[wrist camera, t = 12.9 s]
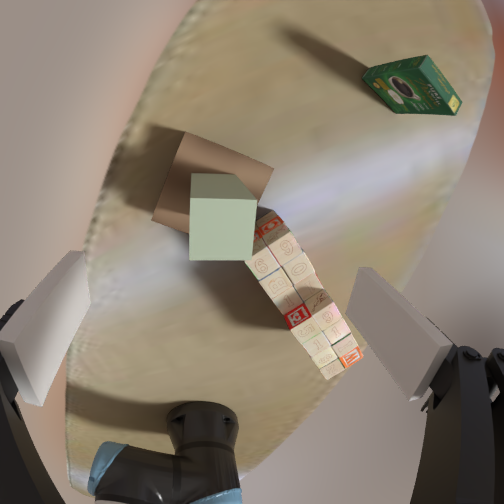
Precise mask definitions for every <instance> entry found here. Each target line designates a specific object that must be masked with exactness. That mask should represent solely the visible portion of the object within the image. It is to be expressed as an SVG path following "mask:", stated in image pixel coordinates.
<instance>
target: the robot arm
mask: <svg viewBox="0 0 504 504" xmlns="http://www.w3.org/2000/svg"><path fill="white" fill-rule="evenodd" d="M90 305H91V302H90V295H89V288H88V280H87V271H86V261H85V251H69V252H68V253H67V254H66V255H65V257H63V258H62V260H61V261H60V262H59V263H58V264H57V265H56V266H55V267H54V268H53V269H52V270H51V271H50V272H49V273H48V274H47V276H46V277H45V278H44V279H43V280H42V281H41V282H40V283H39V284H38V286H37V287H36V288H35V289H34V290H33V291H32V292H31V294H30V295H29V296H28V297H27V298H26V300H22V299H21V300H20V301H18V302H16V303H15V304H13V305H12V306H11V307H10V308H9V309H8V310H7V312H6V313H5V315H3V317H2V318H1V319H0V504H65V502H64V500H63V499H62V497H61V495H60V494H59V492H58V490H57V489H56V487H55V485H54V483H53V482H52V480H51V478H50V476H49V475H48V472H47V471H46V469H45V467H44V465H43V463H42V461H41V459H40V457H39V455H38V453H37V450H36V448H35V446H34V444H33V441H32V439H31V437H30V435H29V432H28V430H27V427H26V425H25V422H24V420H23V417H22V414H21V412H20V409H19V406H18V404H17V402H16V401H15V396H16V394H17V392H18V391H19V393H20V395H21V397H22V398H23V400H24V402H26V403H29V404H33V405H36V406H40V407H42V406H43V404H44V401H45V399H46V396H47V394H48V391H49V389H50V387H51V384H52V382H53V380H54V378H55V375H56V373H57V371H58V368H59V366H60V364H61V362H62V360H63V358H64V356H65V354H66V351H67V349H68V347H69V345H70V343H71V341H72V339H73V337H74V335H75V333H76V331H77V329H78V327H79V325H80V323H81V322H82V320H83V318H84V316H85V314H86V312H87V310H88V308H89V307H90ZM345 314H346V315H347V316H348V318H349V319H350V320H351V322H352V323H353V324H354V326H355V327H356V328H357V330H358V331H359V332H360V334H361V335H362V336H363V338H364V339H365V341H366V342H367V343H368V345H369V346H370V347H371V349H372V350H373V351H374V353H375V354H376V356H377V357H378V358H379V360H380V361H381V362H382V364H383V365H384V367H385V368H386V370H387V371H388V372H389V374H390V375H391V377H392V378H393V379H394V381H395V382H396V384H397V385H398V386H399V388H400V389H401V391H402V392H403V394H404V395H405V396H406V398H407V399H408V401H411V400H414V399H418V398H421V397H422V396H423V395H424V393H425V392H426V390H427V389H428V387H430V388H431V389H432V390H433V392H432V393H431V395H430V396H429V398H428V399H427V401H426V402H425V404H424V405H423V407H422V409H421V411H423V410H424V409H425V408H426V407H428V410H427V411H426V413H427V421H426V428H425V435H424V442H423V448H422V453H421V459H420V464H419V468H418V473H417V478H416V482H415V486H414V490H413V494H412V498H411V501H410V504H504V349H500V348H494V349H493V350H492V352H491V353H490V355H489V357H488V358H483V357H482V356H481V355H480V354H479V353H478V352H477V351H476V350H474V349H473V348H470V347H468V346H460V347H459V348H458V347H457V346H456V345H455V344H454V343H453V342H452V341H451V340H450V339H449V338H448V337H447V336H446V335H445V334H444V333H443V332H442V331H440V330H439V328H438V327H437V326H435V325H434V324H433V323H432V322H431V321H430V320H429V319H428V318H427V317H425V316H424V315H423V314H422V313H421V312H420V311H419V310H418V309H417V308H416V307H414V306H413V305H412V304H411V303H410V302H409V301H408V300H407V299H406V298H405V297H404V296H403V295H401V294H400V293H399V292H398V291H397V290H396V289H395V288H394V287H393V286H391V285H390V284H389V283H388V282H387V281H386V280H385V279H384V278H383V277H381V276H380V275H379V274H378V273H377V272H376V271H375V270H373V269H372V268H368V267H359V269H358V273H357V277H356V280H355V284H354V287H353V290H352V294H351V297H350V300H349V304H348V307H347V310H346V313H345ZM498 388H499V390H500V394H499V395H498V396H497V398H496V399H495V401H494V402H492V400H491V397H492V396H493V394H494V393H495V391H496V390H497V389H498ZM238 429H239V426H238V420H237V416H236V414H235V413H234V412H233V411H232V410H231V409H229V408H227V407H225V406H223V405H220V404H216V403H211V402H193V403H187V404H183V405H180V406H178V407H176V408H175V409H173V410H172V411H171V412H170V413H169V415H168V417H167V431H168V434H169V436H170V439H171V442H172V444H173V447H174V449H175V455H172V454H166V453H161V452H156V451H151V450H147V449H142V448H138V447H134V446H130V445H129V444H120V443H116V442H111V441H107V442H104V443H102V444H101V446H100V447H99V449H98V451H97V453H96V455H95V458H94V461H93V464H92V467H91V471H90V477H89V481H88V492H89V493H90V494H91V495H92V496H95V504H242V497H241V492H242V490H241V488H240V483H239V478H238V472H237V466H236V461H235V455H234V446H235V442H236V438H237V434H238Z"/></svg>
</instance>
